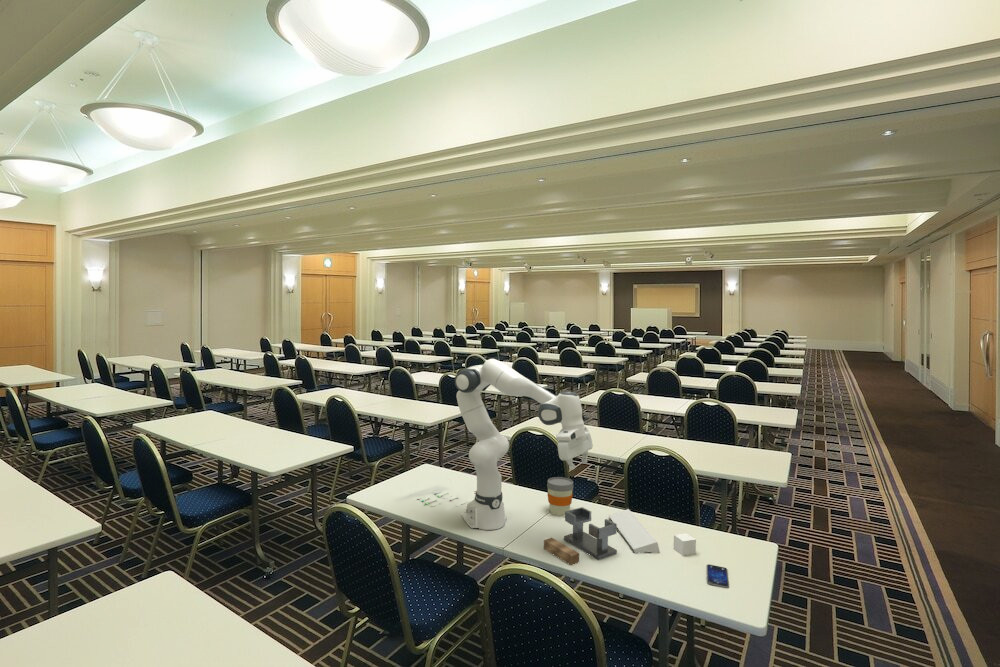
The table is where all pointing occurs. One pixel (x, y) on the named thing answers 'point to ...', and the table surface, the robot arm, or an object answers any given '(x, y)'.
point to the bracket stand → (586, 541)
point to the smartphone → (717, 576)
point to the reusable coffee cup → (559, 495)
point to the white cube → (684, 544)
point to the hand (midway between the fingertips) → (578, 465)
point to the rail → (561, 551)
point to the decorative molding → (634, 532)
